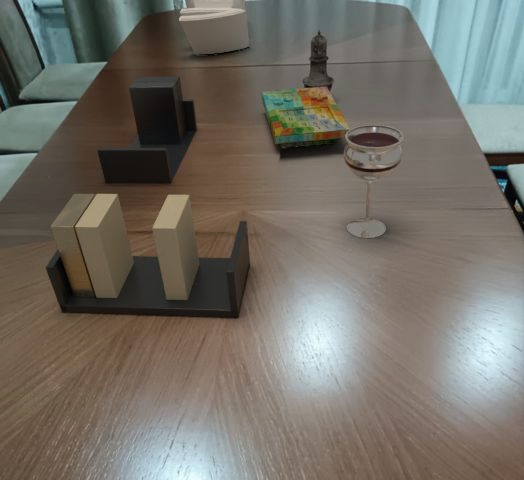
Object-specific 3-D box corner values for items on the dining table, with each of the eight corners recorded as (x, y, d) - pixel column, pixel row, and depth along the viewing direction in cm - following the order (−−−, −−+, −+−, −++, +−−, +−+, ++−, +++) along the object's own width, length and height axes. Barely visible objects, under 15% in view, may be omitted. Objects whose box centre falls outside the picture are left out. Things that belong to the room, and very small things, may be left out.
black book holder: (61, 312, 64) (32, 234, 57) (90, 261, 71) (68, 186, 64) (238, 318, 62) (230, 237, 55) (250, 265, 69) (244, 188, 62)
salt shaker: (296, 102, 108) (295, 31, 100) (314, 92, 111) (315, 23, 103) (321, 108, 105) (322, 36, 97) (339, 98, 108) (342, 28, 100)
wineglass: (398, 219, 75) (410, 128, 67) (385, 246, 70) (395, 151, 62) (349, 211, 77) (354, 121, 69) (332, 236, 73) (336, 143, 65)
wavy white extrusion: (249, 58, 130) (246, 5, 122) (177, 62, 130) (169, 9, 123) (249, 20, 155) (246, -26, 148) (189, 23, 156) (183, -22, 149)
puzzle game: (326, 81, 102) (351, 123, 87) (325, 108, 105) (349, 153, 90) (261, 86, 101) (274, 130, 87) (262, 113, 105) (275, 160, 90)
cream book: (166, 299, 63) (151, 227, 57) (180, 263, 68) (167, 194, 62) (187, 300, 63) (175, 228, 57) (199, 264, 68) (189, 194, 62)
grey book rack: (172, 189, 84) (160, 121, 78) (106, 189, 85) (90, 121, 79) (198, 135, 99) (190, 73, 92) (142, 135, 100) (130, 74, 93)
